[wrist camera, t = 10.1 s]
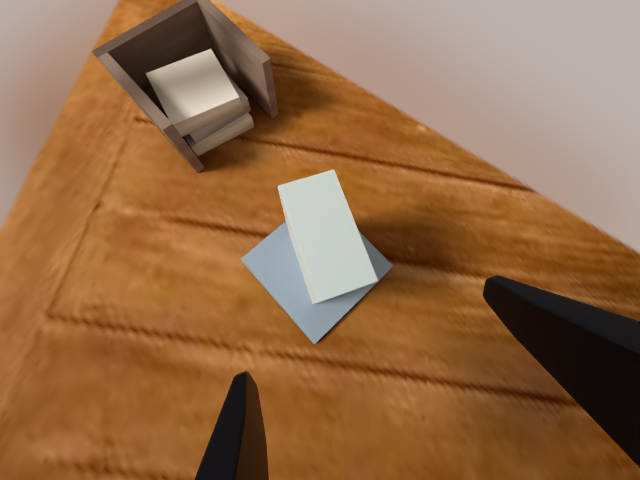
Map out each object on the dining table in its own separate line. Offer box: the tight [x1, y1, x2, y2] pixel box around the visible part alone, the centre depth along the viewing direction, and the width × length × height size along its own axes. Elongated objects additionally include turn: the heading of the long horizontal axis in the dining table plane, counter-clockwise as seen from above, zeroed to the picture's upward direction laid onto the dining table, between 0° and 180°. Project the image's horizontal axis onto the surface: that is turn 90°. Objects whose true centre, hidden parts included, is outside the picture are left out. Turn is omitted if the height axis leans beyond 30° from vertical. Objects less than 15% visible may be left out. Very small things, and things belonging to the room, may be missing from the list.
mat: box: [241, 221, 393, 344], centre depth 22 cm, size 9×9×1 cm
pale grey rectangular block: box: [278, 169, 378, 304], centre depth 17 cm, size 6×3×10 cm, turn 19°
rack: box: [92, 0, 279, 173], centre depth 22 cm, size 9×10×6 cm
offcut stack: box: [146, 49, 254, 156], centre depth 23 cm, size 6×6×4 cm
